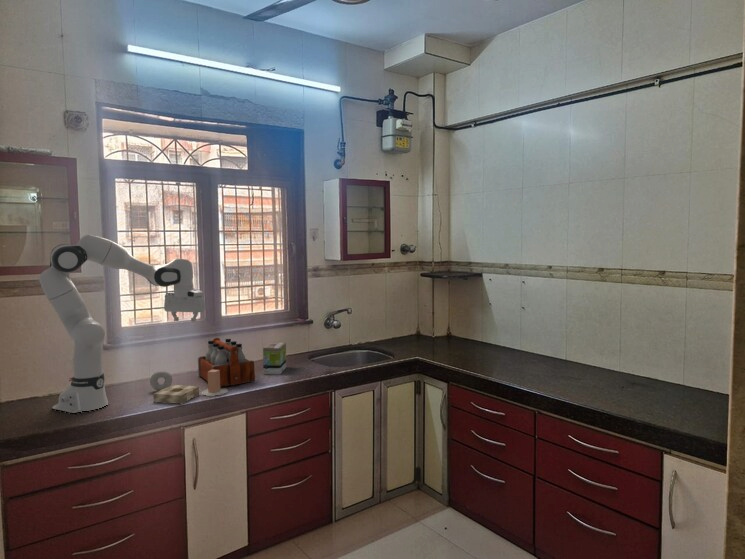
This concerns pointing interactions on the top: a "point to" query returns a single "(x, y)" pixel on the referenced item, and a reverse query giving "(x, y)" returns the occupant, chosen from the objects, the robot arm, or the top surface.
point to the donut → (156, 376)
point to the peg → (213, 381)
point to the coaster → (222, 391)
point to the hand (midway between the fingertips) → (185, 321)
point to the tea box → (274, 358)
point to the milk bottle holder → (226, 363)
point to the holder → (176, 394)
